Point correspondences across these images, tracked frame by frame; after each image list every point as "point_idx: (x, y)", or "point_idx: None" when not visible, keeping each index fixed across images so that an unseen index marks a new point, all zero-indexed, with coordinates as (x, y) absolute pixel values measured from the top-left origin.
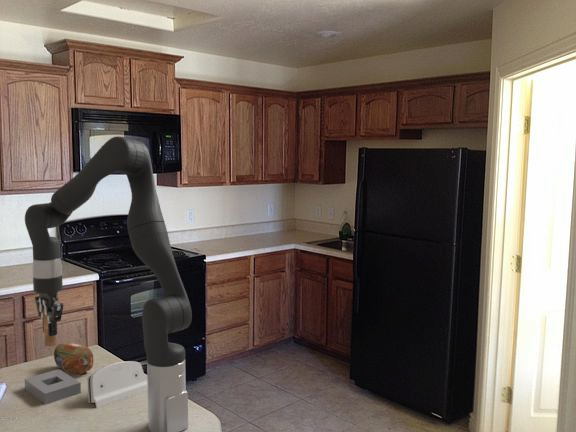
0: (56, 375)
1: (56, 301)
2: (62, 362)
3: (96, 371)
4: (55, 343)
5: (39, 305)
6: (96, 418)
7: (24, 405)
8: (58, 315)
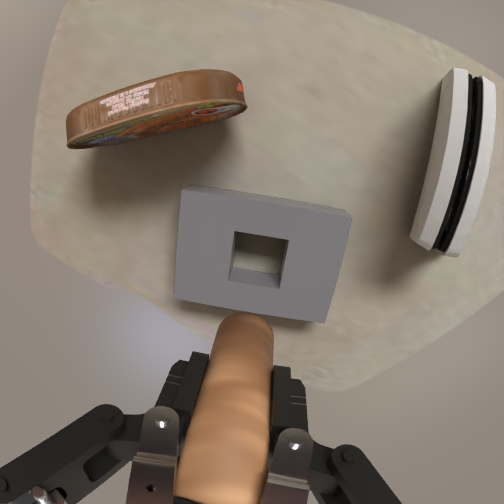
0: (227, 227)
1: None
2: (119, 136)
3: (442, 221)
4: (270, 329)
5: (79, 493)
6: (474, 278)
7: (279, 335)
8: (353, 489)
